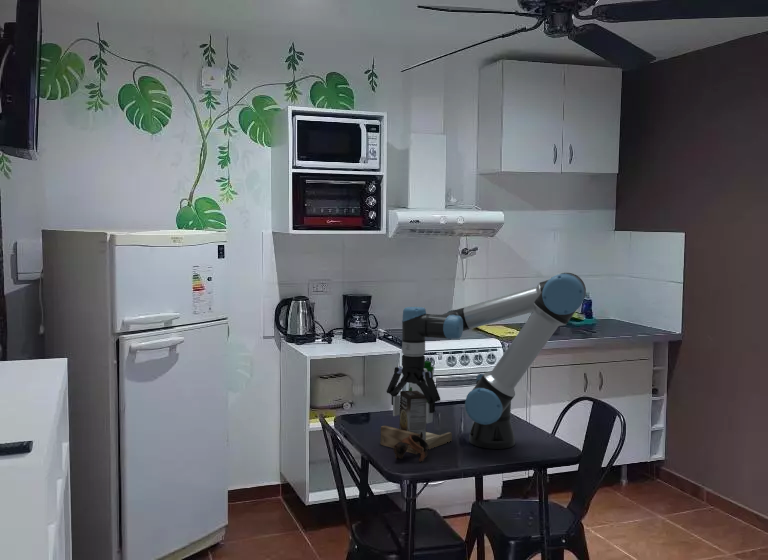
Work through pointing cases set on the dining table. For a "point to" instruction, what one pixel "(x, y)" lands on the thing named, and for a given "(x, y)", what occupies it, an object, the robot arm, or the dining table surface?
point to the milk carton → (426, 369)
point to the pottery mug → (403, 446)
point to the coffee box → (413, 412)
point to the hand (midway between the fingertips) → (412, 419)
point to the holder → (395, 435)
